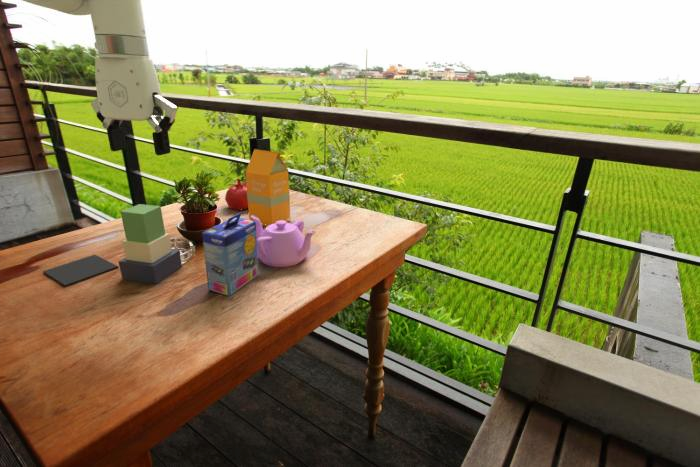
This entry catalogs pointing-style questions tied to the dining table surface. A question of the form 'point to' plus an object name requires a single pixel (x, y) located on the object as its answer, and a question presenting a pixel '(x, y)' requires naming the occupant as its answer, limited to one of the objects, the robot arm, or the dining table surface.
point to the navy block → (151, 268)
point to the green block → (143, 223)
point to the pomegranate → (237, 196)
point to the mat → (80, 270)
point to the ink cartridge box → (230, 254)
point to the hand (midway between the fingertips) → (140, 152)
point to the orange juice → (267, 187)
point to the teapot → (282, 243)
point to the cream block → (148, 249)
